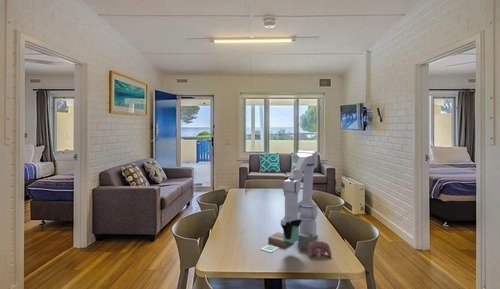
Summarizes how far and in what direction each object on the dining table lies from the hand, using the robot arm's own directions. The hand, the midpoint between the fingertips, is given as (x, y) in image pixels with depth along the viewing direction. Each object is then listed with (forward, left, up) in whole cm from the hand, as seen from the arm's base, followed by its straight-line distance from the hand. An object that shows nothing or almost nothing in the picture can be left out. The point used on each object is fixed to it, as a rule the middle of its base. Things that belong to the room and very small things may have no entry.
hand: (291, 236), depth 138 cm
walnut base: (-8, -10, -7) cm, 15 cm away
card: (+2, -10, -7) cm, 12 cm away
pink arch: (-5, +11, -7) cm, 14 cm away
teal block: (0, 0, -2) cm, 2 cm away
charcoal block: (-10, +2, -7) cm, 12 cm away
